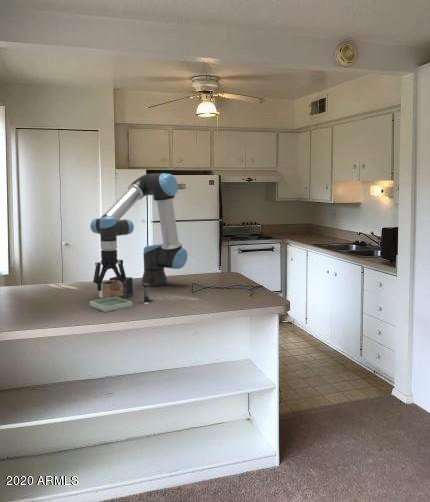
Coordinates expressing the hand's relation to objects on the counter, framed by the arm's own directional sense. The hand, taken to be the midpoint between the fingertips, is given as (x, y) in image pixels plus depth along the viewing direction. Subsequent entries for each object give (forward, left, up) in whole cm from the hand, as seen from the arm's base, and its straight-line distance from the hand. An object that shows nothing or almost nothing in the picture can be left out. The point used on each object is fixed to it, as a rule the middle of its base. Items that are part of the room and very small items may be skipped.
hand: (110, 295), depth 248 cm
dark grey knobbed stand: (+5, +17, -5) cm, 19 cm away
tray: (0, 0, -5) cm, 5 cm away
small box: (-14, +14, -6) cm, 21 cm away
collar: (0, 0, 0) cm, 0 cm away
